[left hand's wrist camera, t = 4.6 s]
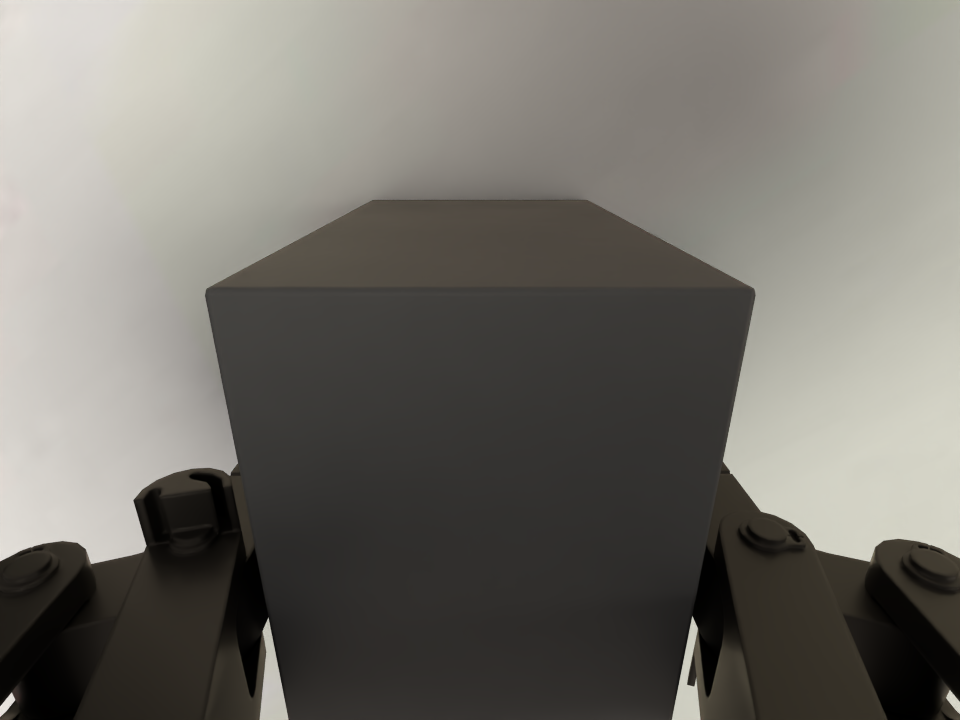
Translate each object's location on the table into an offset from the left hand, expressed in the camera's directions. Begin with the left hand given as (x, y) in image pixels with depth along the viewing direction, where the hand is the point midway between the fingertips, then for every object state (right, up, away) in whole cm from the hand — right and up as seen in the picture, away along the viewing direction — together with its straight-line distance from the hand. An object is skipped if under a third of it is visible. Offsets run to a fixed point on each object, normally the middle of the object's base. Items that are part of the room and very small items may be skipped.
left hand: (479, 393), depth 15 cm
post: (0, -21, +9) cm, 22 cm away
